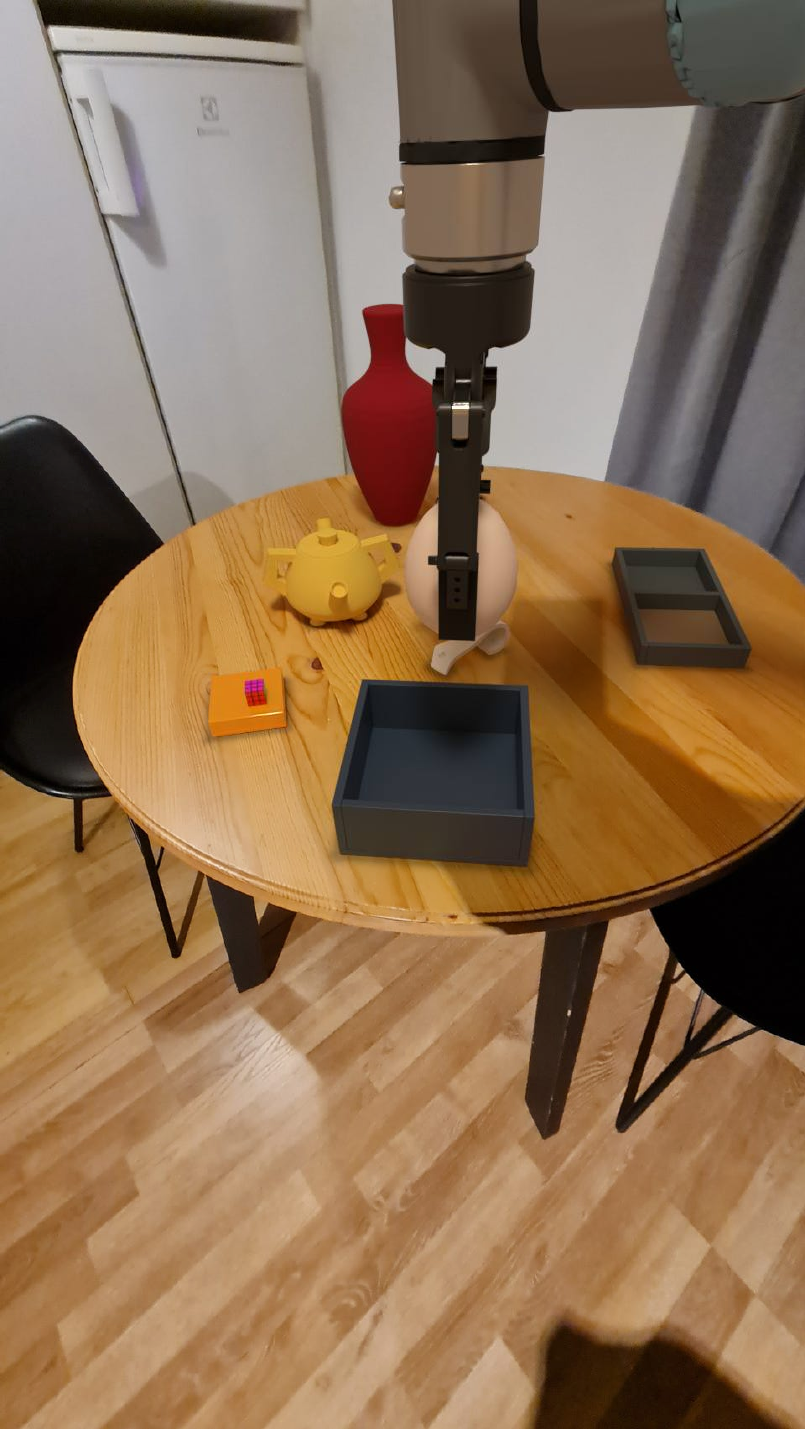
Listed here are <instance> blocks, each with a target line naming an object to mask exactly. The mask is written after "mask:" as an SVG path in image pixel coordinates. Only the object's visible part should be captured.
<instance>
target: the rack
mask: <svg viewBox="0 0 805 1429" xmlns="http://www.w3.org/2000/svg"><path fill="white" fill-rule="evenodd" d="M611 567H612V572H613V575H614V579H615V583H616V587H617V590H618V595H619V598H620V602H621V607H622V610H623V615H624V618H625V621H626V622H625V624H626V628H627V630H628V635H629V638H630V644H631V647H632V651H633V654H634V658H635V662H636V665H638V666H668V667H697V668H700V667H701V668H722V669H723V668H727V669H745V668H746V666H747V663H748V660H749V658H750V655H751V653H752V650H753V647H752V646H751V643H750V642H749V639H748V637H747V635H746V633H745V630H744V629H743V627H742V625H741V622H740V621H739V618H738V616H737V614H736V612H735V609H734V607H733V605H732V604H731V601H730V599H729V597H728V595H727V593H726V592H725V589H724V587H723V584H722V583H721V581H720V579H719V576H718V574H717V572H716V570H715V568H714V565H713V563H712V561H711V560H710V558H709V555H708V552H707V551H706V549H705V548H690V547H689V548H686V547H683V548H682V547H635V546H634V547H631V546H630V547H629V546H626V547H625V546H620V547H619V546H617V547H615V548H614V552H613V558H612V562H611Z"/></svg>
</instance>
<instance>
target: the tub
mask: <svg viewBox="0 0 805 1429" xmlns="http://www.w3.org/2000/svg"><path fill="white" fill-rule="evenodd" d="M529 696H530V694H529V685H527V684H526V685H524V684H499V683H478V682H477V683H475V682H473V683H471V682H451V681H449V682H447V681H426V680H425V681H422V680H399V679H398V680H396V679H372V678H371V679H369V678H362V679H361V681H360V686H359V690H358V694H357V697H356V698H357V699H356V702H355V703H356V704H355V707H354V711H353V715H352V718H351V722H350V727H349V731H348V736H347V740H346V744H345V748H344V752H343V756H342V760H341V764H340V768H339V771H338V772H339V773H338V777H337V780H336V785H335V789H334V794H333V797H332V801H331V805H330V806H331V811H332V817H333V821H334V829H335V835H336V840H337V845H338V846H337V847H338V851H339V854H340V855H346V856H347V855H349V856H362V857H378V858H391V859H393V858H394V859H405V860H407V859H409V860H420V861H421V860H422V861H435V862H438V861H439V862H449V863H450V862H452V863H466V864H480V865H494V866H495V865H496V866H509V867H510V866H511V867H525V868H527V867H528V865H529V864H528V863H529V858H530V852H531V844H532V839H533V833H534V832H533V831H534V826H535V824H534V823H535V818H536V815H535V794H534V777H533V757H532V756H533V754H532V737H531V736H532V735H531V718H530V717H531V716H530V699H529V698H530V697H529Z"/></svg>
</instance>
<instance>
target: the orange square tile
mask: <svg viewBox="0 0 805 1429" xmlns="http://www.w3.org/2000/svg"><path fill="white" fill-rule="evenodd" d="M209 693H210V694H209V704H208V715H207V716H208V718H207V724H208V727H209V730H210V733H211V736H212V737H213V738H218V737H223V736H230V735H231V736H232V735H238V734H244V733H245V734H246V733H252V732H259V731H267V730H272V729H279V728H280V729H281V728H286V727H287V724H288V723H287V708H286V707H287V706H286V686H285V678H284V674H283V670H282V667H274V668H272V667H271V668H266V669H259V670H250V671H243V672H235V673H229V674H228V673H227V674H221V675H219V674H218V675H214V676H212V675H211V678H210V692H209Z"/></svg>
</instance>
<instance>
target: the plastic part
mask: <svg viewBox="0 0 805 1429" xmlns="http://www.w3.org/2000/svg"><path fill="white" fill-rule="evenodd" d="M510 632H511V631H510V627H509V625H508V624H507V623H505V622H504V621H502V620H501V619H500V620H499V621H498V622H497V624H495V625H494V626H493V627H492V628H491V629H489V630H487V631H486V632H484V633H482V634H481V635H478V636H475V641H457V640H446V641H444V642H441V643H438V644H436V645H435V646H434V648H433V652H432V657H431V662H430V667H431V668H432V669H433V670H434V671H436V672H437V673H440V674H441V675H444V676H447V675H448V673H449V672H450V670H451V668H452V667H453V665H454V664H455V662H456V661H457V660H459V659H460V658H462V657H464V656H465V655H466V654H468V653H469V652H471V651H472V650H474V649H475V648H476V647H477V648H478V649H480V650H481V651H482V652H484V653H485V654H487V655H488V656H493V655H495V654H496V653H499V652H501V651H502V650H503V648H504V647H505V646H506V644H508V640H509V637H510Z"/></svg>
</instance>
